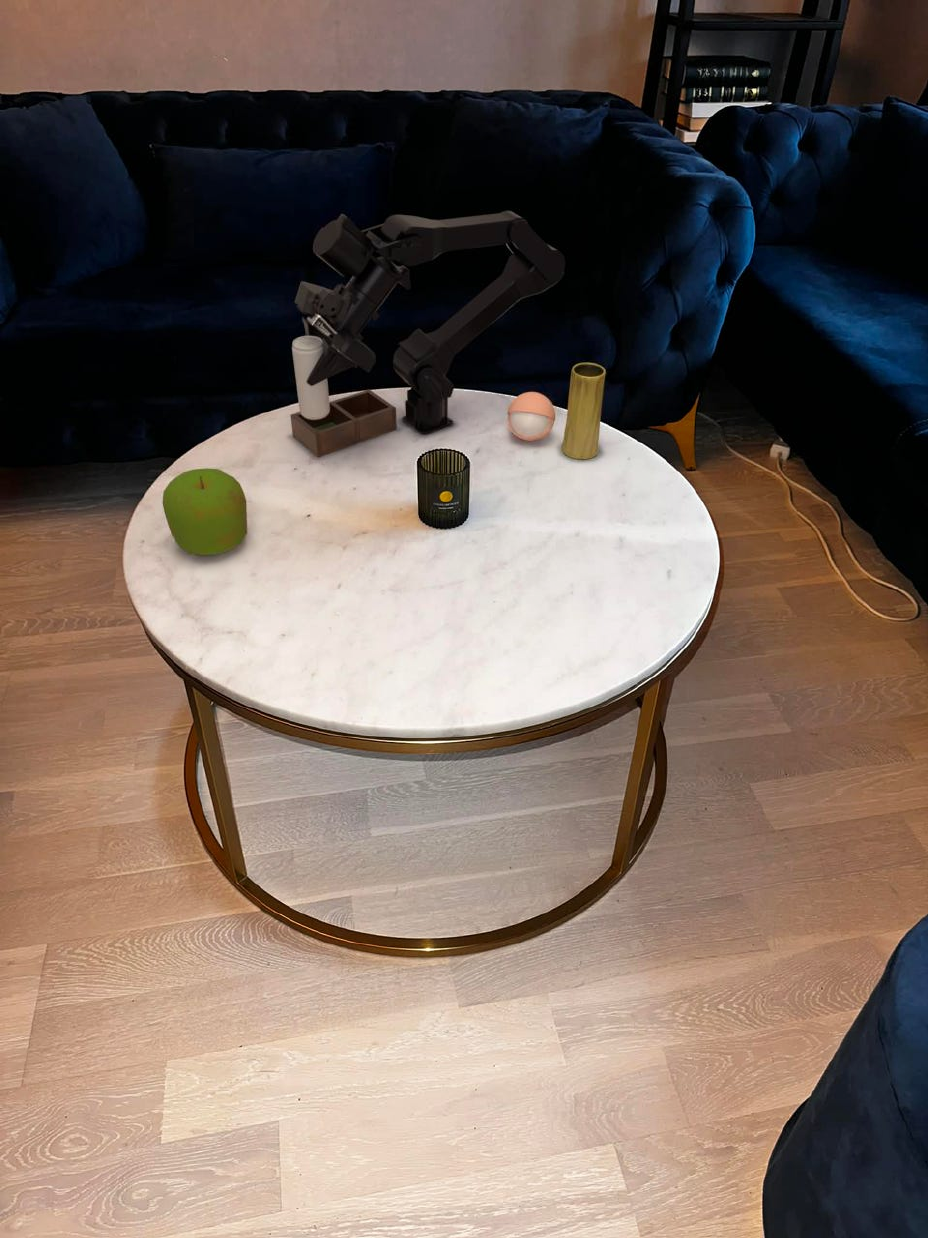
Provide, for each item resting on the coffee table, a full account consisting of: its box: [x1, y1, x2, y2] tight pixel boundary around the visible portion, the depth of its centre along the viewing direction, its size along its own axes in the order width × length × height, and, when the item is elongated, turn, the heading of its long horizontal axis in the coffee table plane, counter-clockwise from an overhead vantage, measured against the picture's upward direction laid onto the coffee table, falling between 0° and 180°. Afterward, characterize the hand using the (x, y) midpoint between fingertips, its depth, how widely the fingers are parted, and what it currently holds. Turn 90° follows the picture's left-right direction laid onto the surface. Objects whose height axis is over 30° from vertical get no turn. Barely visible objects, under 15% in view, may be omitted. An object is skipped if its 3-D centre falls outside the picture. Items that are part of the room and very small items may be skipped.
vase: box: [560, 362, 607, 460], centre depth 150 cm, size 6×6×14 cm
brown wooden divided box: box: [290, 389, 397, 458], centre depth 156 cm, size 15×8×4 cm, turn 127°
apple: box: [161, 467, 248, 556], centre depth 130 cm, size 11×11×11 cm
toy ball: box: [506, 391, 556, 442], centre depth 155 cm, size 8×8×8 cm
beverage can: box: [291, 335, 330, 420], centre depth 145 cm, size 5×5×12 cm
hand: (302, 377), depth 145 cm, fingers closed on beverage can, 5 cm apart
